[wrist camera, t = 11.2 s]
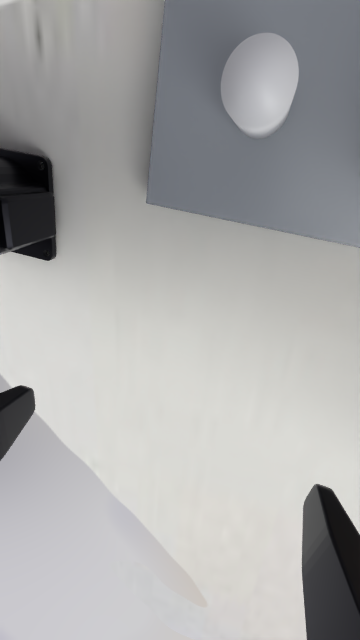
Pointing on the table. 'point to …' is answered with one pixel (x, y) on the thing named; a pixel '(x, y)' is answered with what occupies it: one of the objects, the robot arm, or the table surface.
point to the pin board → (280, 165)
